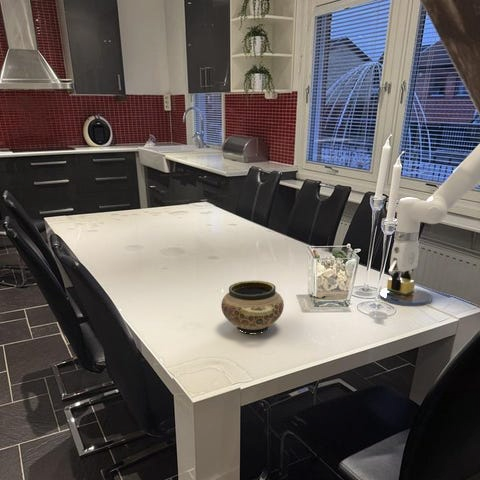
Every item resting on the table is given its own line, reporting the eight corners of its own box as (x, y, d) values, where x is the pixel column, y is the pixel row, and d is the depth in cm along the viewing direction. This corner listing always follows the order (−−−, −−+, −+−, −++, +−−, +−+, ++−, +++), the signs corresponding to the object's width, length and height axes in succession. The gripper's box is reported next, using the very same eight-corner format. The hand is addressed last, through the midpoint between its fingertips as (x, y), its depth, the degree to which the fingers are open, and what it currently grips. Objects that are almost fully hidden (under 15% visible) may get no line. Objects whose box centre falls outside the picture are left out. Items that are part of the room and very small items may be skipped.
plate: (441, 298, 160) (441, 295, 160) (413, 309, 150) (413, 306, 150) (398, 287, 172) (398, 284, 172) (369, 296, 163) (369, 293, 162)
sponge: (413, 293, 161) (415, 280, 159) (405, 296, 158) (406, 283, 157) (394, 288, 167) (396, 276, 165) (386, 290, 164) (387, 278, 162)
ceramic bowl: (226, 322, 149) (213, 280, 143) (279, 306, 149) (268, 263, 144) (235, 356, 127) (220, 307, 121) (297, 338, 127) (285, 288, 121)
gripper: (401, 241, 148) (395, 296, 154) (430, 234, 157) (423, 286, 164) (381, 238, 153) (376, 290, 160) (410, 231, 163) (404, 281, 170)
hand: (400, 287), depth 162 cm, fingers closed on sponge, 5 cm apart
